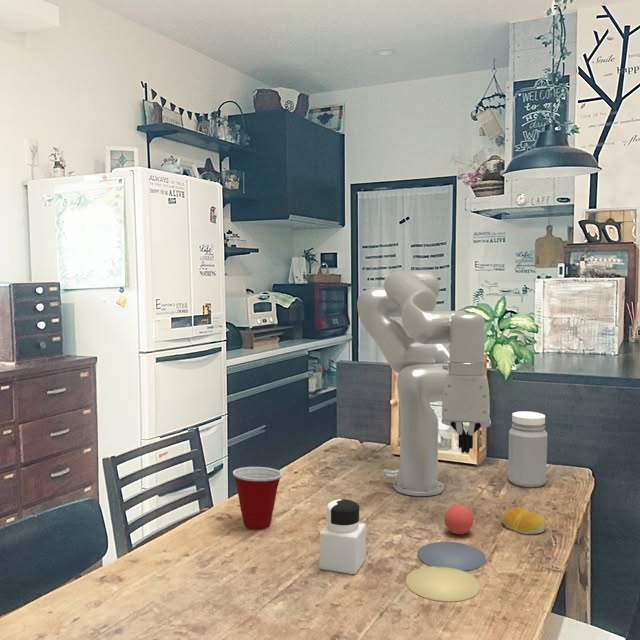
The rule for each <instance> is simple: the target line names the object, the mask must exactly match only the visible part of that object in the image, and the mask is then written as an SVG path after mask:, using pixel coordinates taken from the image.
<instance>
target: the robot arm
mask: <svg viewBox="0 0 640 640" xmlns="http://www.w3.org/2000/svg"><path fill="white" fill-rule="evenodd" d="M440 288H441V286H440V281H439V279H438V277H437V276H436V274H435V273H433V272H432V271H429V270H407V269H406V270H404V269H403V270H396V271H394V272H391V273H390V274H389V275H387V276H386V278H385V280H384V283H383V286H375V287H371V288H367V289H365V290H363V291H362V292H361V293H360V294H359V296H358V298H357V305H356V306H357V308H356V309H357V312H358V313H357V314H358V318H359V321H360V322H361V325H362V327H363V329H364V330H365V331H366V332H367V334H368V335H369V336H370V337H371V338H372V339H373V341H374V342H375V343H376V344H377V346H378V348H379V350H380V352H382V353H381V354H382V355H383V357H384V358H385V361H387V363H388V365H389V367H390V368H391V369H392V371H393V372H395V373H396V374H397V376H396V388H397V396H398V400H399V411H400V412H399V414H400V415H399V417H400V419H399V422H400V423H399V425H400V426H399V427H400V428H399V429H400V431H399V468H396V469H390V468H384V469H383V470H382V472H383V473H382V475H383V477H385V479H389V480H394V481H393V489H394V490H395V491H396V492H398V493H401V494H403V495H408V496H413V497H414V496H415V497H430V496H436V495H439V494H441V493H443V492H444V489H445V487H444V486H445V485H444V483H443V482H442V481H440V480H439V479H438V478H439V477H438V472H439V469H438V467H439V465H438V464H439V419H438V416H437V413H436V412H435V411H434V409H433V408H432V406H431V403H436V402H437V403H438V402H442V403H441V416H442V418H441V420H440V421H441V424H443V425H446V426H450V427H451V428H452V429H453V430H454V431H455V432H456V434H457V435H458V448H459V449H460V450H461V451H460V452H461V454H462V453H463V454H464V453H466V454H469V453H470V450H473V447H474V434H475V433H476V432H477V431H478V430H480V429H483V428H490V427H491V425H492V422H491V418H490V415H491V399H490V387H489V380H488V375H485V329H486V328H485V327H486V326H485V324H486V323H485V322H486V321H485V318H484V317H483V315H482V314H479V313H470V312H469V313H468V312H466V311H465V310H464V311H463V310H435V307H436V304H437V298H438V296H439V293H440V290H441V289H440ZM392 318H401V323H399V322H397V321H396V320H394V319H392ZM447 344H448V345H449V346H448V347H449V348H448V347H447V346H446V345H447ZM464 423H469V425H468V430H465V427H464Z"/></svg>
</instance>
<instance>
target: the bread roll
mask: <svg viewBox="0 0 640 640" xmlns="http://www.w3.org/2000/svg"><path fill="white" fill-rule="evenodd" d="M501 523H502V524H503V526H504V525H505V526H504V527H505V528H506V527H507V529H508V528H509V530H510V529H511V531H513V530H514V531H515V532H516V531H517V533H518V532H519V534H522V535H539V534H538V533H540V534H542V533H543V532H544V531H546V527H547V526H546V525H547V522H546V519H545V518H544V517H543V516H542V515H540V514H539V513H536V512H529V511H528V510H527V509H525V508H522V507H519V506H517V507H512V508H510V509H508V510H507V511H506V512H504V513H503V514H502V516H501ZM514 531H513V532H514Z"/></svg>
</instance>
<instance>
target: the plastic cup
mask: <svg viewBox="0 0 640 640" xmlns="http://www.w3.org/2000/svg"><path fill="white" fill-rule="evenodd" d="M283 474H284V473H283V472H282V471H280V470H278V469H276V468H271V467H265V466H247V467H246V466H245V467H239V468H236V469H234V470H233V471H232V475H233V478H234V480H235V483H236V484H235V485H236V489H237V496H238V502H239V507H240V511H241V517H242V518H241V519H242V523H243V525H244V528H245V529H247V530H251V531H252V530H253V531H260V530H261V531H262V530H265V529H268V528H270V526H271V523H272V519H273V512H274V509H275V503H276V498H277V492H278V487H279V484H280V480H281V478H282V477H283Z"/></svg>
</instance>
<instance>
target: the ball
mask: <svg viewBox="0 0 640 640" xmlns="http://www.w3.org/2000/svg"><path fill="white" fill-rule="evenodd" d="M443 518H444V519H443V521H444V525H445V527H446V528H447V530H449V531H450V532H451V533H452V534H455V535H464V534H466V533H469V531H470V530H471V529H472V527H473V526H474V516H473V513H472V511H471V509H469V508H468V507H466V506H465V505H462V504H454V505H451V506H450V507H448V508H447V510H446V511H445V513H444V516H443Z"/></svg>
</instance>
